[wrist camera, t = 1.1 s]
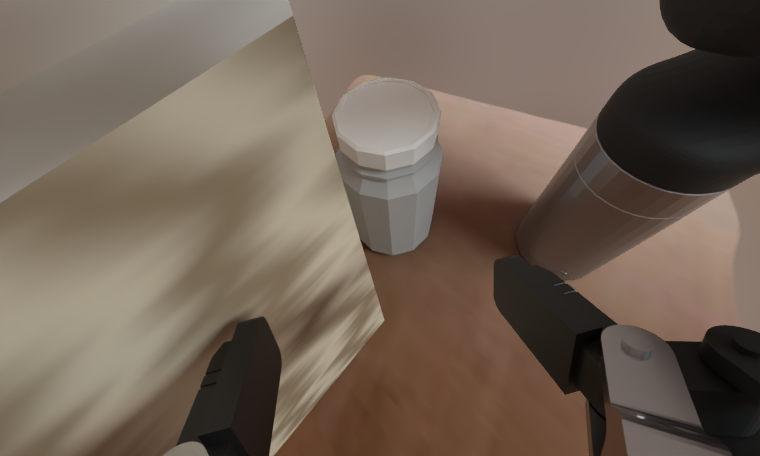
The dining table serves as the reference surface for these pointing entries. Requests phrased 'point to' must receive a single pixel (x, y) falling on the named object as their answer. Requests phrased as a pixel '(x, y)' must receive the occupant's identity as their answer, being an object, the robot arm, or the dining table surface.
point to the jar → (389, 161)
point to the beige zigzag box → (163, 219)
